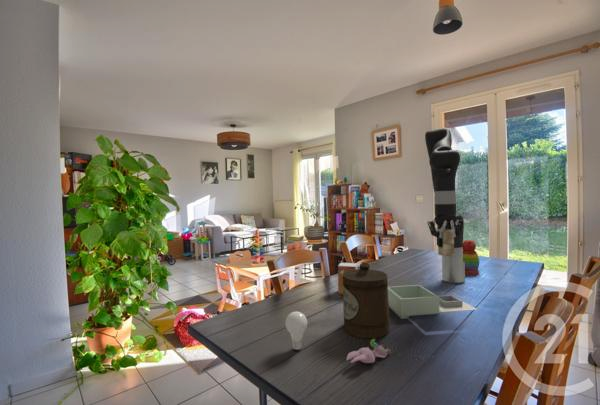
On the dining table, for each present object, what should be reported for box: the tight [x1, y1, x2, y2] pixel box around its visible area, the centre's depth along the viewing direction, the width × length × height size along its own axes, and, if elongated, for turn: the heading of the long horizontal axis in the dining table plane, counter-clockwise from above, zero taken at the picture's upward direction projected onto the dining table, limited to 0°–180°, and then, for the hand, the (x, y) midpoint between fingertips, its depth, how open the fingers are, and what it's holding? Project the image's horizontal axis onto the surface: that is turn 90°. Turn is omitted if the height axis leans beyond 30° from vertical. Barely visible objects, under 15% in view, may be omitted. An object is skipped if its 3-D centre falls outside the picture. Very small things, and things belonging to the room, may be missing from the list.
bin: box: [388, 284, 440, 320], centre depth 112 cm, size 14×14×7 cm
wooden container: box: [342, 261, 390, 339], centre depth 98 cm, size 15×15×22 cm
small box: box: [337, 262, 359, 295], centre depth 133 cm, size 8×6×13 cm
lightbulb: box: [285, 311, 308, 351], centre depth 86 cm, size 6×6×11 cm
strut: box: [437, 229, 454, 257], centre depth 113 cm, size 4×4×10 cm
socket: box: [437, 294, 478, 313], centre depth 114 cm, size 14×14×3 cm
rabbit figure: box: [346, 338, 392, 364], centre depth 79 cm, size 6×6×15 cm
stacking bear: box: [462, 239, 480, 276], centre depth 159 cm, size 11×10×18 cm
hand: (445, 246), depth 113 cm, fingers closed on strut, 4 cm apart
